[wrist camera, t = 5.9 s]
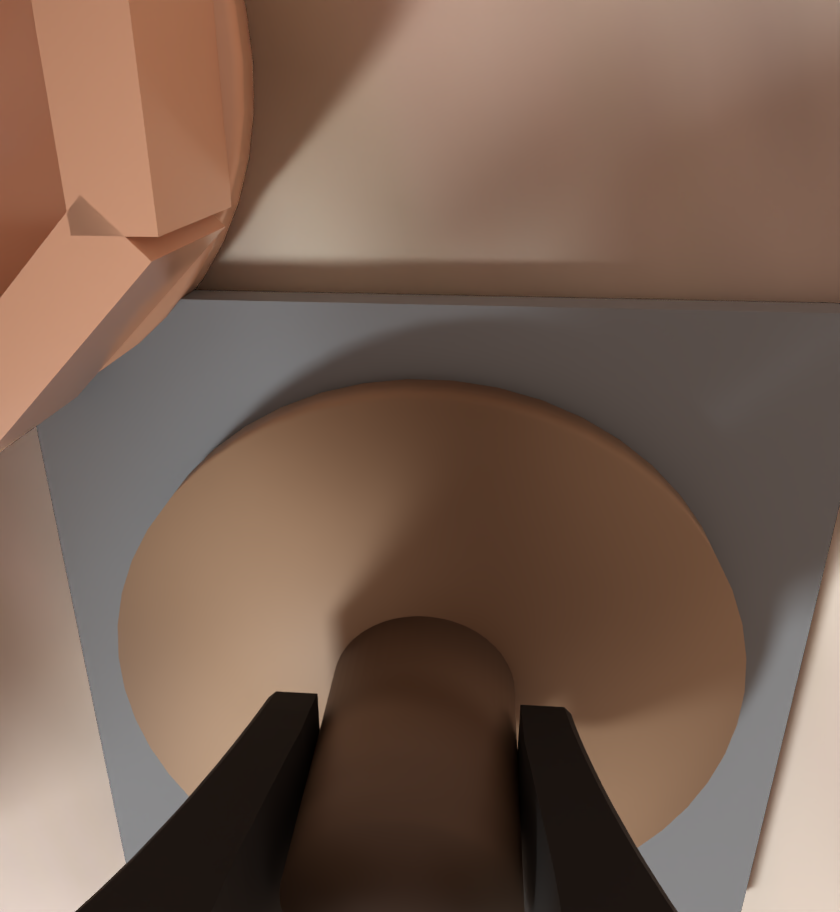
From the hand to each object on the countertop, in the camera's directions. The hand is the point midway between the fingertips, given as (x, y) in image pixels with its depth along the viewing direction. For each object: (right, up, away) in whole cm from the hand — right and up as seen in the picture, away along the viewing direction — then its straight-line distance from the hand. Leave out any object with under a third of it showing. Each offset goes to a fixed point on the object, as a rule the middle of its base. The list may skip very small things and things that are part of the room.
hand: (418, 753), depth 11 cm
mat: (0, +1, +2) cm, 3 cm away
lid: (0, +1, +2) cm, 2 cm away
